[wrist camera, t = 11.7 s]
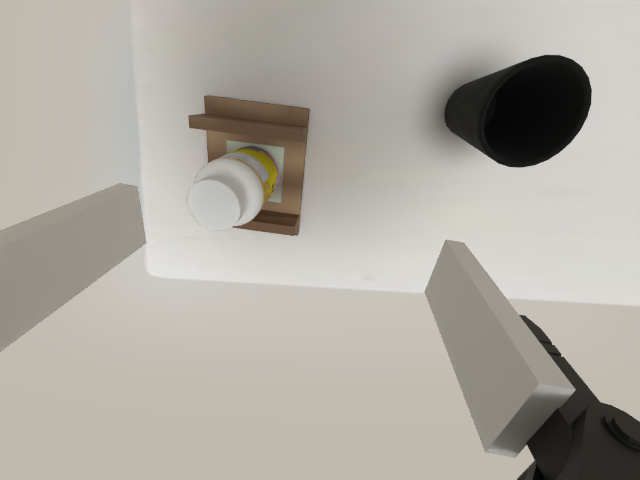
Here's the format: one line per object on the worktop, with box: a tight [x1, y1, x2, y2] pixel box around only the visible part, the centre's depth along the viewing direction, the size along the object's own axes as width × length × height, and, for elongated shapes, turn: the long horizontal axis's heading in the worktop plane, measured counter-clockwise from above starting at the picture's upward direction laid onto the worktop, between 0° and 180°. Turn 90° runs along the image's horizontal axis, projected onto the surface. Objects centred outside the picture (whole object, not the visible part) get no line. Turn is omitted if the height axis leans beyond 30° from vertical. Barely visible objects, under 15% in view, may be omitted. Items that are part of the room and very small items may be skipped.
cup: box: [445, 55, 592, 167], centre depth 27 cm, size 8×8×12 cm
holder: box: [189, 96, 309, 236], centre depth 35 cm, size 16×12×5 cm
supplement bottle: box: [187, 146, 280, 231], centre depth 30 cm, size 7×7×13 cm
